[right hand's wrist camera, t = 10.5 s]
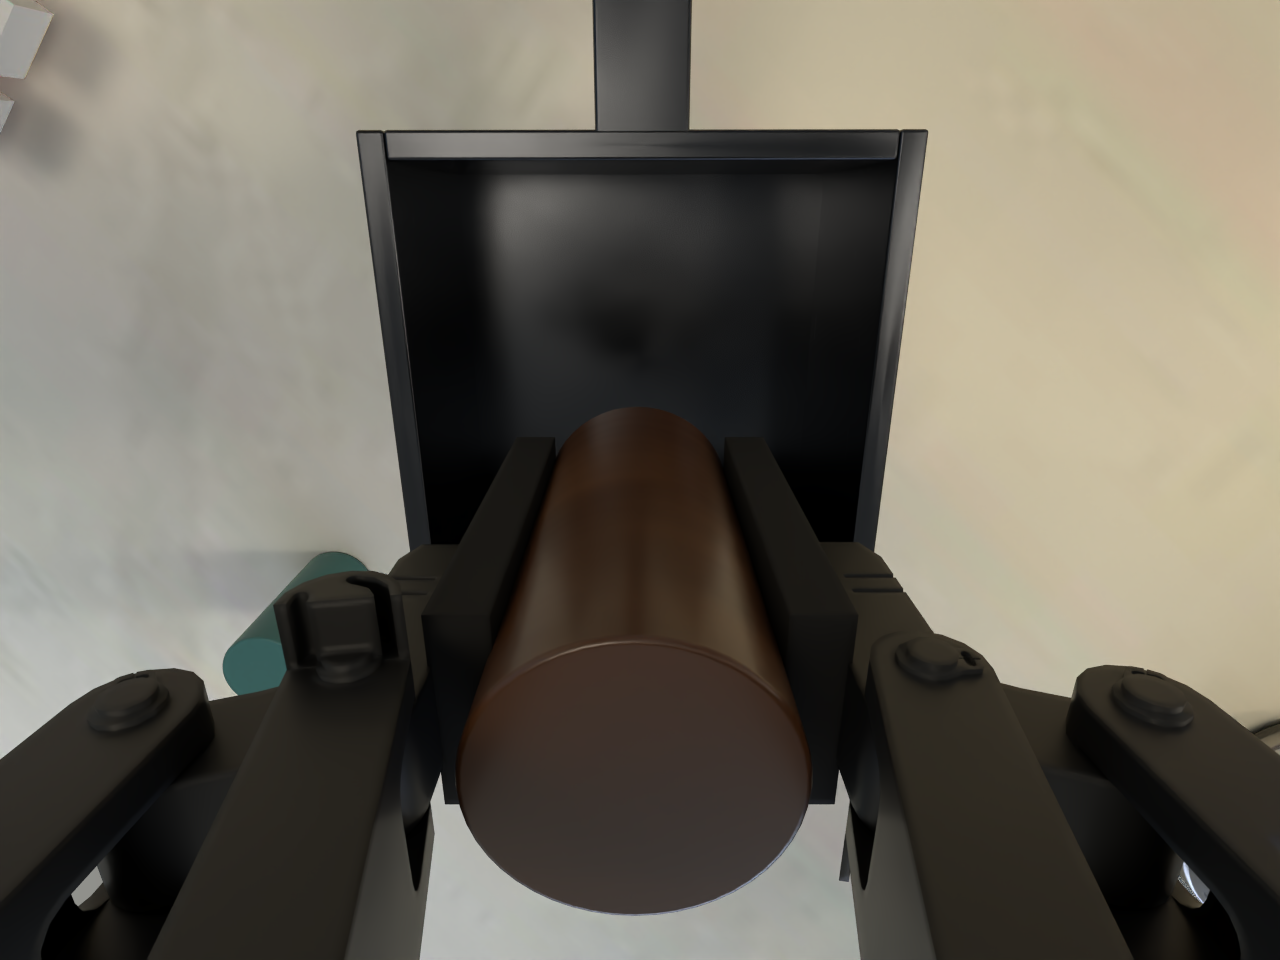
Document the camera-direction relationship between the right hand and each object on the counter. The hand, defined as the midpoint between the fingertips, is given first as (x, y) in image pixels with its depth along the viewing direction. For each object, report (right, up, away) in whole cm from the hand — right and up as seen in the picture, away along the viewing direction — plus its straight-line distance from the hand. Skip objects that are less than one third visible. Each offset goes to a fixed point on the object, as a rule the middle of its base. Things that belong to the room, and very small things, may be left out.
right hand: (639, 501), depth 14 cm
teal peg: (-16, -5, +23) cm, 29 cm away
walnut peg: (0, 0, 0) cm, 0 cm away
